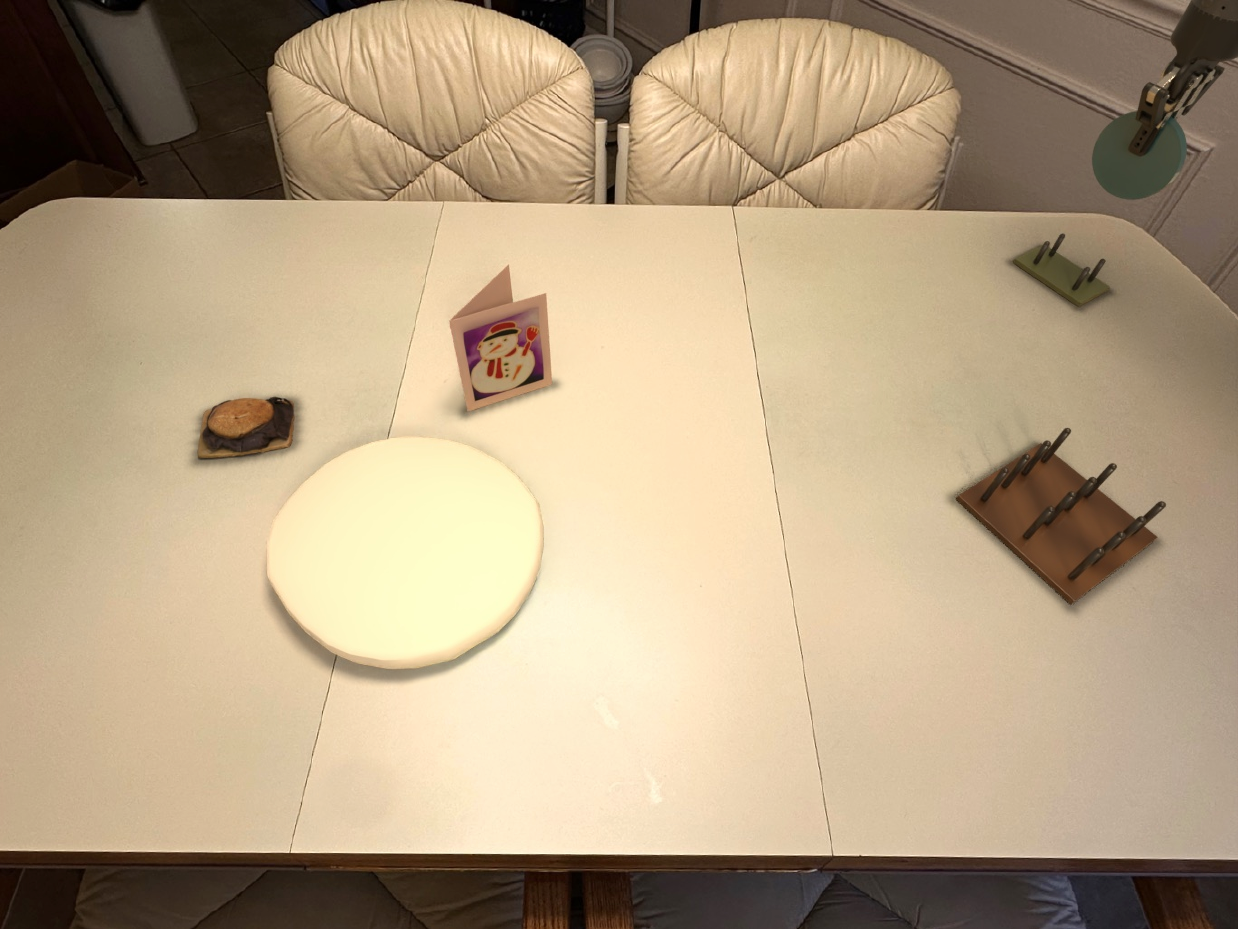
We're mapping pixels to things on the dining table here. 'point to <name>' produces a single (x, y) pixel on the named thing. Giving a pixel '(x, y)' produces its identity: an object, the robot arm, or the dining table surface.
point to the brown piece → (246, 427)
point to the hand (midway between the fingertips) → (1140, 150)
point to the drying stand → (1062, 273)
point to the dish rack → (1058, 519)
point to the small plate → (1137, 158)
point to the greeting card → (501, 344)
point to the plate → (406, 551)
